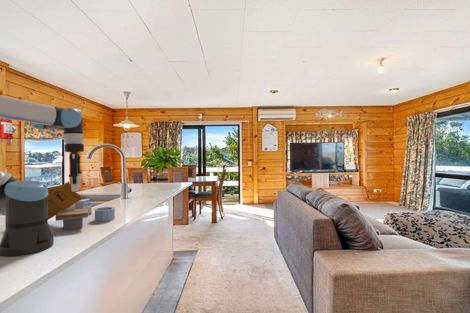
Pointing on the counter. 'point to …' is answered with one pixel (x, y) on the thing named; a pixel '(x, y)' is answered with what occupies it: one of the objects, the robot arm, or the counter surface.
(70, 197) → the coffee package
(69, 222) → the grey block
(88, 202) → the medicine box
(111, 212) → the bowl
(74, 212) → the walnut board
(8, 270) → the counter surface
